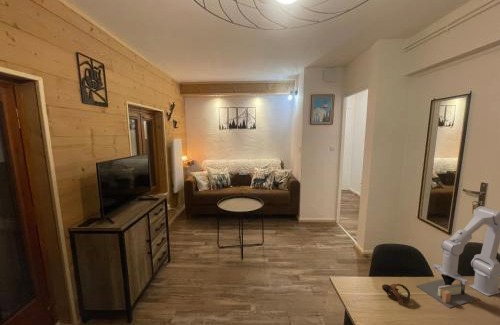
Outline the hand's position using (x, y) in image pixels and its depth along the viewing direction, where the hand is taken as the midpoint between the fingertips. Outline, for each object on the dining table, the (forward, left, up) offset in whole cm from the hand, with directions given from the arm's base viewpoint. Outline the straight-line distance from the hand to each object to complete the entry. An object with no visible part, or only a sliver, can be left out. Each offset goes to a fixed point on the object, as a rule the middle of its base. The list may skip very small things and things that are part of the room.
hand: (447, 288), depth 114 cm
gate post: (-6, +2, -3) cm, 7 cm away
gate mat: (+1, -1, -3) cm, 3 cm away
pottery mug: (+27, -6, -3) cm, 28 cm away
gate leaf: (+1, +1, -2) cm, 3 cm away
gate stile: (+7, +4, -3) cm, 9 cm away
